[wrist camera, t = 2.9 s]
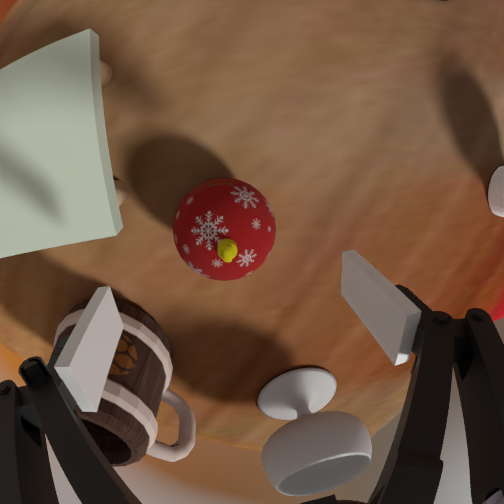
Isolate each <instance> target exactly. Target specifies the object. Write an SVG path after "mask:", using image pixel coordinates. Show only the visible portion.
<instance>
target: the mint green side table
mask: <svg viewBox="0 0 504 504" xmlns="http://www.w3.org/2000/svg"><path fill="white" fill-rule="evenodd" d="M112 76H113V70H112V68H111V67H110V66H109V65H107V64H106V63H104V62H102V61H101V60H100V56H99V35H98V34H96V33H95V32H94V31H93V30H91V29H87V30H85V31H82V32H79V33H76V34H74V35H71V36H69V37H66V38H64V39H61V40H59V41H56V42H54V43H52V44H49V45H47V46H45V47H43V48H40V49H38V50H36V51H34V52H32V53H30V54H28V55H26V56H24V57H22V58H20V59H18V60H16V61H14V62H13V63H11V64H9V65H7V66H5V67H4V68H2V69H0V258H4V257H8V256H13V255H17V254H22V253H27V252H32V251H37V250H42V249H47V248H52V247H57V246H62V245H67V244H72V243H78V242H83V241H89V240H94V239H100V238H105V237H111V236H116V235H117V234H118V233H119V232H120V231H121V229H122V228H123V224H122V219H121V215H120V210H119V206H120V205H121V204H122V203H123V202H125V200H126V199H127V197H128V188H127V186H126V185H125V183H123V182H122V181H118V180H116V181H114V180H113V174H112V168H111V162H110V156H109V149H108V143H107V135H106V128H105V119H104V110H103V100H102V89H101V87H103V86H105V85H107V84H108V83H109V82H110V81H111V79H112Z"/></svg>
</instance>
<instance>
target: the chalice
mask: <svg viewBox="0 0 504 504" xmlns="http://www.w3.org/2000/svg"><path fill="white" fill-rule="evenodd" d="M336 388H337V382H336V379H335V377H334V376H333V375H332V374H331V373H330V372H328V371H327V370H323V369H320V368H301V369H296V370H292V371H289V372H287V373H284V374H281V375H280V376H278V377H276V378H274V379H273V380H271V381H270V382H269V383H268V384H266V385H265V387H264V388H263V389H262V390H261V392H260V394H259V396H258V400H257V403H258V407H259V409H260V410H261V412H262V413H264V414H265V415H266V416H269V417H271V418H275V419H280V420H291V419H295V420H293V421H291V422H289V423H287V424H285V425H284V426H282V427H281V428H279V429H278V430H277V431H276V432H275V433H273V434H272V435H271V436H270V438H269V439H268V441H267V442H266V444H265V445H264V447H263V451H262V456H261V460H262V465H263V468H264V471H265V473H266V475H267V476H268V478H269V480H270V482H271V483H272V485H273V486H274V487H275V488H276V489H277V490H278V491H279V492H281V493H283V494H285V495H290V496H303V495H311V494H316V493H321V492H324V491H327V490H330V489H333V488H336V487H338V486H341V485H343V484H345V483H347V482H349V481H351V480H352V479H354V478H356V477H357V476H359V474H361V473H362V472H363V471H364V470H365V469H366V468H367V467H368V466H369V464H370V460H371V454H372V447H371V446H372V445H371V440H370V436H369V433H368V430H367V427H366V425H365V424H364V423H363V422H362V421H361V420H360V419H359V418H358V417H356V416H354V415H352V414H349V413H346V412H341V411H324V412H317V413H315V412H316V411H318V410H320V409H321V408H322V407H324V406H325V405H326V404H327V403H328V402H329V401H330V400H331V398H332V397H333V396H334V394H335V391H336Z"/></svg>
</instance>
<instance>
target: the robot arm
mask: <svg viewBox="0 0 504 504" xmlns="http://www.w3.org/2000/svg"><path fill="white" fill-rule="evenodd" d="M442 1H447V0H442ZM341 295H342V296H343V297H344V299H345V300H346V301H347V302H348V304H349V305H350V306H351V308H352V309H353V310H354V312H355V313H356V314H357V315H358V317H359V318H360V319H361V321H362V322H363V323H364V325H365V326H366V327H367V329H368V330H369V331H370V333H371V334H372V335H373V337H374V338H375V339H376V341H377V342H378V343H379V345H380V346H381V347H382V349H383V350H384V352H385V353H386V354H387V356H388V357H389V358H390V360H391V361H392V362H393V364H394V365H395V366H396V365H399V364H401V363H404V362H407V361H409V358H410V355H411V351H412V352H413V353H414V354H415V355H416V358H415V361H414V364H413V367H412V370H411V374H412V375H411V379H410V383H409V388H408V392H407V396H406V399H405V403H404V407H403V410H402V414H401V417H400V421H399V424H398V428H397V431H396V434H395V437H394V440H393V443H392V446H391V449H390V452H389V455H388V457H387V460H386V463H385V465H384V468H383V470H382V473H381V476H380V478H379V481H378V483H377V485H376V487H375V489H374V491H373V493H372V495H371V497H370V499H369V501H368V503H363V502H359V501H352V500H336V497H335V495H331V496H327V497H324V498H320V499H316V500H312V501H308V502H304V503H301V504H433V503H434V500H435V496H436V492H437V489H438V486H439V482H440V478H441V474H442V469H443V461H442V460H440V455H441V450H442V445H443V439H444V434H445V429H446V423H447V416H448V409H449V401H450V392H451V381H452V369H453V368H454V372H455V377H456V381H457V386H458V391H459V396H460V401H461V406H462V412H463V418H464V424H465V431H466V439H467V447H468V456H469V468H470V485H471V486H470V487H471V497H472V503H473V504H504V344H503V342H502V340H501V338H500V336H499V333H498V331H497V329H496V327H495V325H494V323H493V321H492V319H491V317H490V315H489V314H488V313H487V312H486V311H484V310H482V309H479V308H472V309H469V310H468V311H467V313H466V316H465V318H463V319H453V318H452V317H451V316H450V315H449V314H447V313H445V312H442V311H434V312H433V311H432V310H431V309H430V308H429V307H428V306H427V305H425V304H424V303H423V302H422V301H421V300H420V299H418V297H417V296H416V295H414V294H413V293H412V292H411V291H410V290H409V289H408V288H406V287H404V286H401V285H393V284H392V283H391V282H390V281H389V280H388V279H387V278H386V277H384V276H383V275H382V274H381V273H380V272H379V271H378V270H377V269H376V268H374V267H373V266H372V265H371V264H370V263H369V262H368V261H367V260H365V259H364V258H363V257H362V256H361V255H360V254H359V253H357V252H356V251H355V250H351V251H345V252H342V282H341ZM123 327H124V326H123V323H122V320H121V318H120V315H119V312H118V309H117V306H116V304H115V301H114V298H113V295H112V292H111V289H110V286H106V287H98V288H97V290H96V291H95V293H94V295H93V296H92V298H91V300H90V301H89V303H88V305H87V307H86V308H85V310H84V312H83V313H82V315H81V317H80V319H79V320H78V322H77V324H76V326H75V328H74V329H73V331H72V333H71V335H66V336H65V337H64V338H63V339H62V340H61V341H60V342H59V344H58V346H57V349H56V350H55V352H54V355H52V357H51V359H50V361H49V363H48V365H47V366H46V365H45V363H44V361H43V360H42V358H41V357H38V356H35V357H31V358H28V359H27V360H25V361H24V362H23V363H22V364H21V365H20V367H19V374H20V375H21V377H22V379H23V380H24V381H25V383H26V386H22V387H17V386H16V384H15V383H14V382H13V381H12V380H5V381H3V382H1V383H0V504H59V502H58V498H57V494H56V490H55V486H54V482H53V477H52V472H51V468H50V462H49V457H48V451H47V444H46V438H45V434H46V436H47V438H48V440H49V443H50V445H51V447H52V449H53V451H54V453H55V455H56V458H57V460H58V461H59V463H60V466H61V467H62V469H63V471H64V473H65V475H66V477H67V478H68V481H69V482H70V484H71V486H72V487H73V489H74V491H75V493H76V494H77V496H78V498H79V499H80V501H81V503H82V504H142V503H141V502H140V501H139V500H138V499H137V497H136V496H135V495H134V494H133V493H132V492H131V490H130V489H129V488H128V487H127V485H126V484H125V483H124V481H123V480H122V479H121V478H120V476H119V475H118V474H117V472H116V471H115V470H114V468H113V467H112V466H111V464H110V463H109V462H108V460H107V459H106V457H105V456H104V455H103V453H102V452H101V450H100V449H99V447H98V446H97V444H96V443H95V441H94V440H93V438H92V437H91V435H90V433H89V432H88V430H87V429H86V427H85V425H84V424H83V422H82V420H81V419H80V417H79V415H78V414H77V412H76V411H75V407H76V404H78V406H79V407H80V409H81V410H82V411H83V412H97V410H98V406H99V403H100V399H101V396H102V392H103V389H104V385H105V382H106V379H107V375H108V372H109V369H110V366H111V363H112V360H113V357H114V354H115V351H116V348H117V345H118V342H119V339H120V336H121V333H122V330H123Z"/></svg>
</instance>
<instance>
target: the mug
mask: <svg viewBox="0 0 504 504" xmlns="http://www.w3.org/2000/svg"><path fill="white" fill-rule="evenodd" d="M90 300H91V299H90ZM90 300H87V301H85V302H82V303H80V304H78V305H76V306H75V307H74V308H73V309H72V310H71V311H70V312H69V313H68V314H67V315H66V317H65V318H64V319H63V321H62V322H61V323H60V324H59V325H58V328H57V331H56V335H55V339H54V343H53V346H54V350H53V352H52V355H54V352H55V350H56V349H57V346H58V344H59V342H60V341H61V340H62V339H63V338H64V337H65V336H66V335H71V333H72V331H73V329H74V328H75V326H76V324H77V322H78V320H79V319H80V317H81V315H82V313H83V312H84V310H85V308H86V307H87V305H88V303H89V301H90ZM114 301H115V300H114ZM115 304H116V306H117V309H118V312H119V315H120V318H121V320H122V323H123V326H124V327H123V330H122V333H121V336H120V339H119V342H118V345H117V348H116V351H115V354H114V357H113V360H112V363H111V366H110V369H109V372H108V375H107V379H106V382H105V385H104V389H103V392H102V396H101V399H100V403H99V406H98V410H97V412H83V411H82V410H81V409H80V407H79V406H78V404H76V407H75V411H76V412H77V414H78V415H79V417H80V419H81V420H82V422H83V424H84V425H85V427H86V429H87V430H88V432H89V433H90V435H91V437H92V438H93V440H94V441H95V443H96V444H97V446H98V447H99V449H100V450H101V452H102V453H103V455H104V456H105V457H106V459H107V460H108V462H109V463H110V464H111V466H112V467H115V466H126V465H129V464H132V463H134V462H137V461H140V459H142V458H143V457H144V456H145V454H146V453H147V454H149V455H151V456H153V457H157V458H160V459H163V460H167V461H170V462H174V461H177V460H179V459H182V458H184V457H186V456H187V455H188V453H189V452H190V451H191V449H192V448H193V447H194V444H195V427H196V423H195V419H194V415H193V411H192V409H191V408H190V407H189V406H188V404H187V403H186V402H185V401H184V400H183V399H182V397H180V396H179V395H177V394H176V393H174V392H173V391H171V390H169V389H168V388H167V387H168V386H169V384H170V381H171V375H172V370H173V366H172V363H171V361H172V355H173V354H172V350H171V346H170V342H169V339H168V338H167V336H166V335H165V333H164V332H163V330H162V329H161V327H160V326H159V325H158V324H157V323H156V322H155V321H154V320H153V319H151V318H150V317H149V316H148V315H147V314H146V313H144V312H142V311H141V310H139V309H137V308H135V307H133V306H131V305H129V304H127V303H123V302H119V301H115ZM52 355H51V357H52ZM50 359H51V358H50ZM49 361H50V360H49ZM161 400H162V401H164V402H166V403H168V404H169V405H171V406H172V407H174V408H175V410H176V411H177V413H178V415H179V421H180V425H179V435H178V440H177V441H176V443H175V444H173V445H166V444H164V443H162V442H159V441H156V440H155V439H156V435H157V428H158V424H157V421H156V417H157V413H158V409H159V405H160V401H161Z"/></svg>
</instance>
